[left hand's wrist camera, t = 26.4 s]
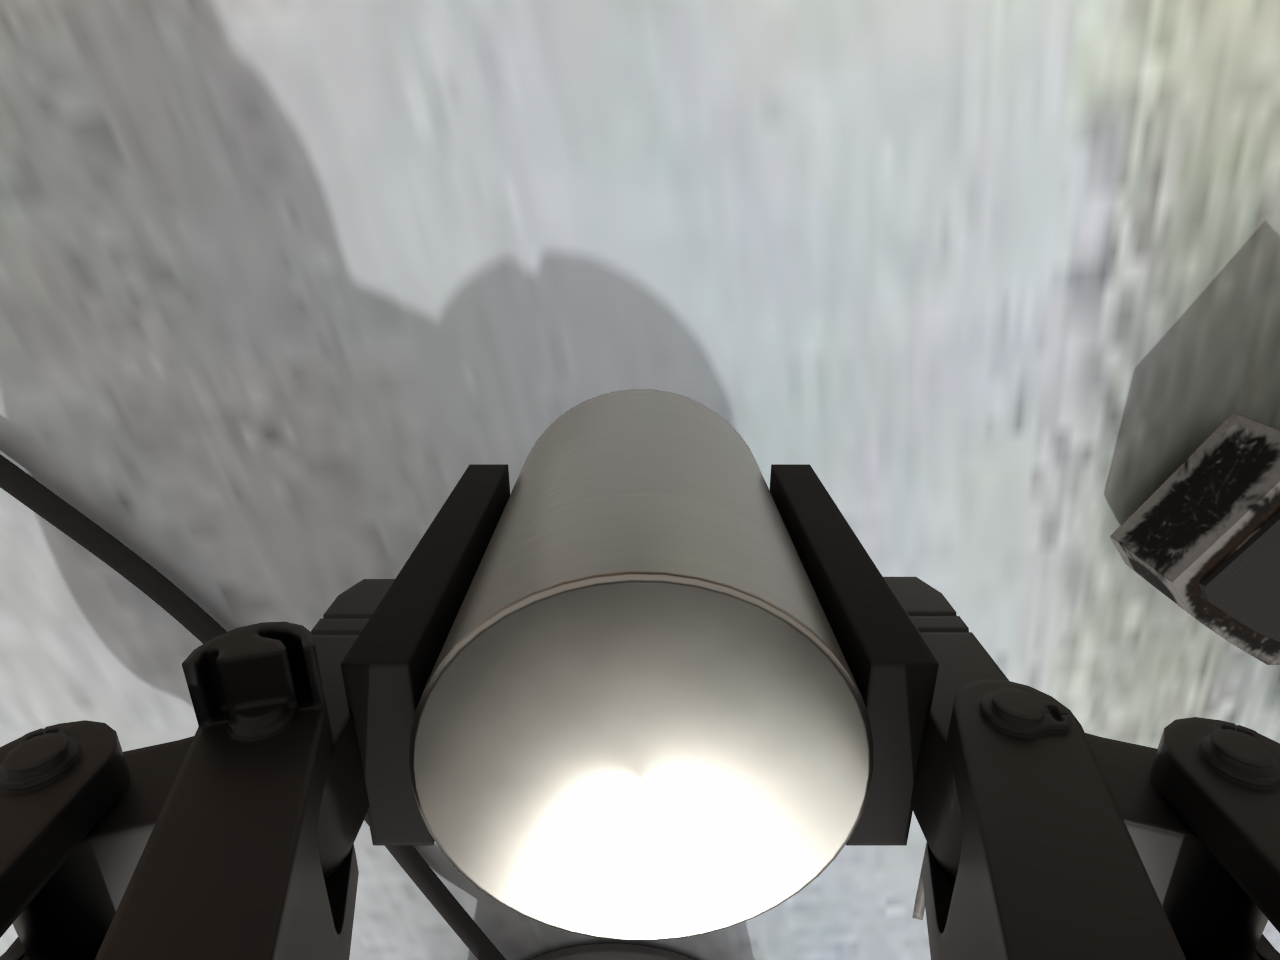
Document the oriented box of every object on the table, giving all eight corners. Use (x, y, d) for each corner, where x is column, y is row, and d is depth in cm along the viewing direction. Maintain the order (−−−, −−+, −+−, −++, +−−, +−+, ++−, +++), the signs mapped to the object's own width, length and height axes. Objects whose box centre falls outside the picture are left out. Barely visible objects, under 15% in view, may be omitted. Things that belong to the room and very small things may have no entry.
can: (668, 653, 16) (690, 998, 9) (471, 535, 15) (325, 824, 8) (815, 480, 15) (976, 734, 8) (607, 336, 14) (573, 477, 7)
